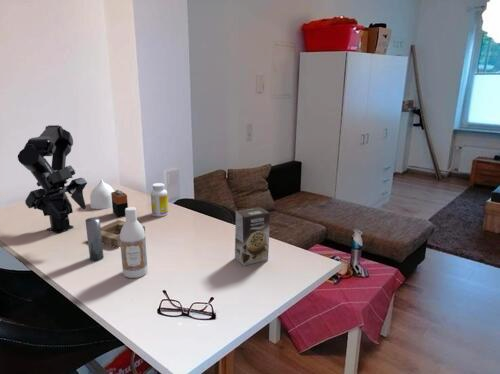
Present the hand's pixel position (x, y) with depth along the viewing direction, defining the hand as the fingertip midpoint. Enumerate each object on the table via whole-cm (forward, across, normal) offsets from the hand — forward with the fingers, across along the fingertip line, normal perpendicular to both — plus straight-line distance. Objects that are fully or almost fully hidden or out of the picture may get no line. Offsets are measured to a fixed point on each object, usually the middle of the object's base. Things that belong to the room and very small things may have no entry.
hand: (72, 213), depth 118 cm
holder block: (+11, +15, +8) cm, 20 cm away
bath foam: (+28, -1, -8) cm, 29 cm away
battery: (0, +32, +19) cm, 37 cm away
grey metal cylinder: (+16, 0, +4) cm, 16 cm away
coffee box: (+46, +23, -27) cm, 58 cm away
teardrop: (-10, +37, +30) cm, 49 cm away
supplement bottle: (+10, +40, +9) cm, 42 cm away
